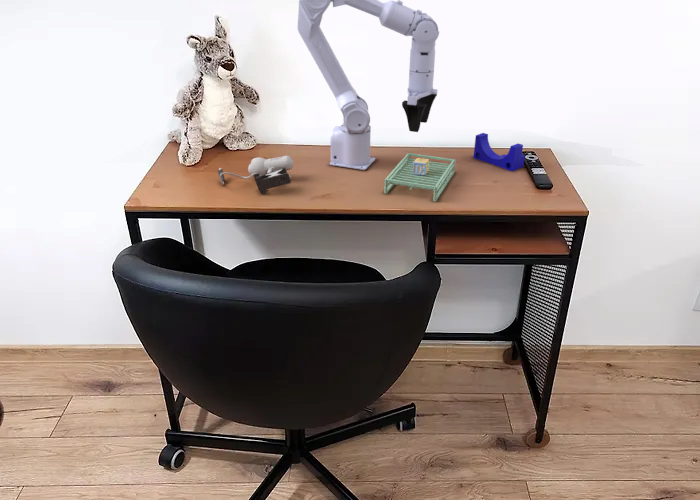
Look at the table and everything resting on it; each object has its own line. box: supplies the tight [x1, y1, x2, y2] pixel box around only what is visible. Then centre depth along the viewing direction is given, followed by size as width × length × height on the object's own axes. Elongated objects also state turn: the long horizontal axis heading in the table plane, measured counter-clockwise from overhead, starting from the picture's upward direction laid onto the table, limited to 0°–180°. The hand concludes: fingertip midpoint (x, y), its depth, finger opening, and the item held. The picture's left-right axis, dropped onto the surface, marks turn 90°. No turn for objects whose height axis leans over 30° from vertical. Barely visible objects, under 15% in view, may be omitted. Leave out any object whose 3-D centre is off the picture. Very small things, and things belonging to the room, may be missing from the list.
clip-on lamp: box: [217, 155, 294, 195], centre depth 145 cm, size 12×6×18 cm
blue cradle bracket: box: [473, 132, 526, 172], centre depth 158 cm, size 12×4×6 cm, turn 42°
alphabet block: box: [412, 157, 430, 176], centre depth 145 cm, size 3×3×3 cm
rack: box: [383, 152, 456, 203], centre depth 147 cm, size 18×12×4 cm, turn 159°
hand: (418, 126), depth 154 cm, fingers open, 7 cm apart
